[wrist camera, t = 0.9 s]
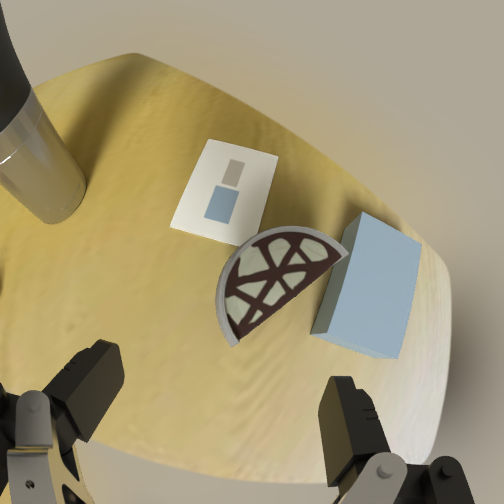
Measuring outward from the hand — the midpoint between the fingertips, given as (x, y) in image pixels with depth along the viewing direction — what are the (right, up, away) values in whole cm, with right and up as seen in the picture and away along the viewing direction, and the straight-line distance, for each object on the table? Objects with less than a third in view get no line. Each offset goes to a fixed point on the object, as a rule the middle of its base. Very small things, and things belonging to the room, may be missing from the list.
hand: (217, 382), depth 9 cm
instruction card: (-2, +13, +24) cm, 27 cm away
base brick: (+14, 0, +22) cm, 26 cm away
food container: (+2, +1, +21) cm, 21 cm away
